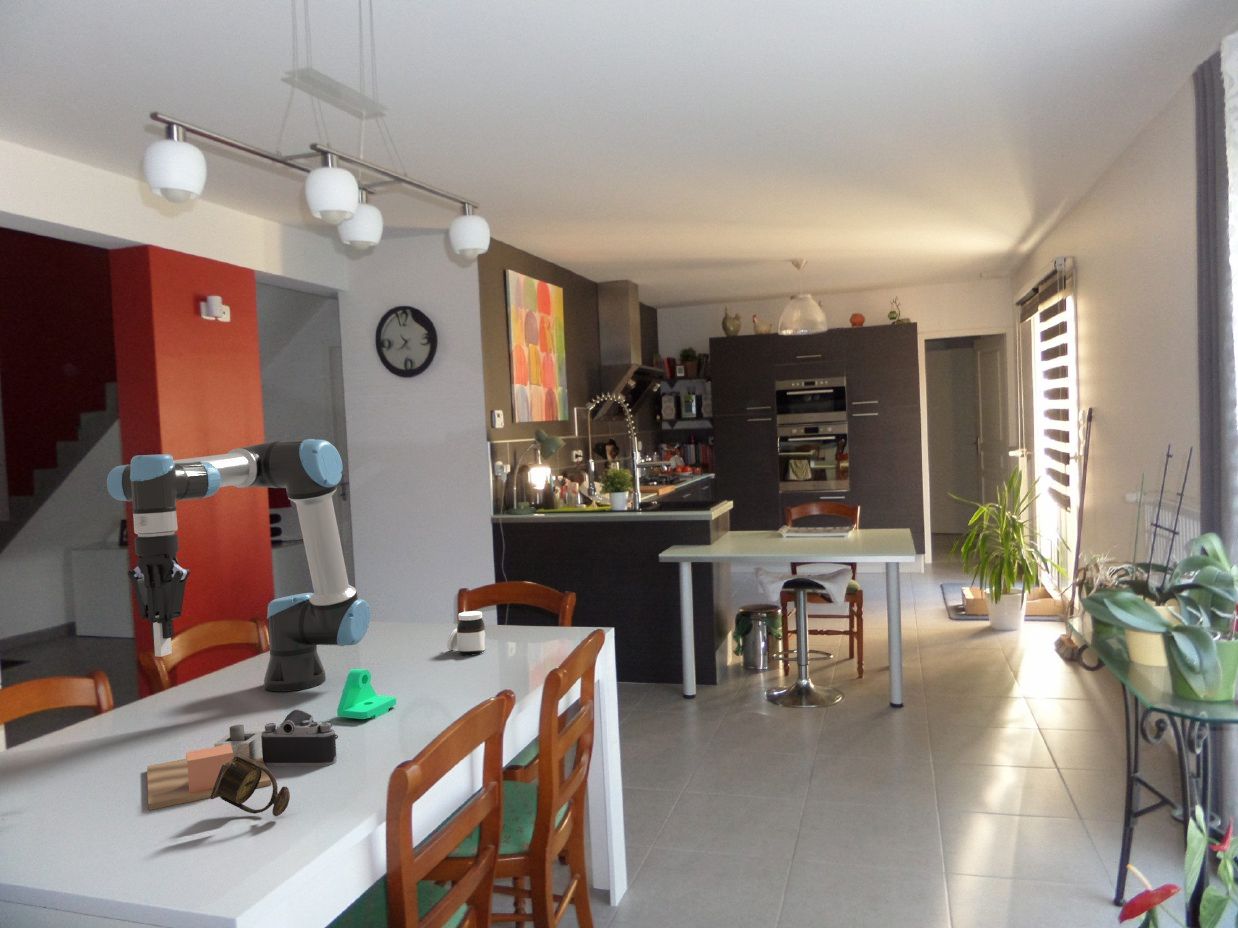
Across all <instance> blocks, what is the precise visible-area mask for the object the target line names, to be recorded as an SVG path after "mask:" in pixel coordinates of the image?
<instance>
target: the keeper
mask: <svg viewBox="0 0 1238 928" xmlns="http://www.w3.org/2000/svg"><path fill="white" fill-rule="evenodd" d="M185 759H187V765H188V781H189V793H193V792H198V791H203V790H208V789H213V788H214V785H215V782H216V779H217V777H218V774H219V772H220V769H221V767H222V765H223V764H225V763H227V762H229V761H231V760H232V759H234V758H233V750H232V747H231V744H228V745H222V746H217V747H214V746H213V747H206V748H201V749H196V750H191V751H186V752H185Z"/></svg>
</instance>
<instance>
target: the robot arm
mask: <svg viewBox="0 0 1238 928" xmlns="http://www.w3.org/2000/svg"><path fill="white" fill-rule="evenodd" d="M343 467H344V466H343V462H342V458H341V455H340V453H339V451H338V449H337V448H336V446H334V445H333V444H331V442H330V441H328V440H325V439H313V438H305V439H290V440H276V441H275V440H273V441H266V442H262V443H257V444H252V445H249V446H245V447H236V448H233V449H230V450H229V451H228V452H227V453H223V454H215V455H214V454H213V455H206V456H205V455H204V456H197V457H191V458H190V457H189V458H182V459H174V458H173V455H171V454H169V453H167V454H164V453H163V454H147V455H146V454H144V455H143V454H142V455H140V454H139V455H134V456H133V457H132V458H131V460H130V464H124V465H117V466H115V467H113V468H112V469H111V470H110V472H109V473H108V475H107V479H106V486H107V487H106V488H107V491H108V494H109V495H110V496H111V497H112V498H113V499H114V500H116V501H121V502H122V501H123V502H128V503H129V502H130V503H131V502H132V515H133V530H134V531H133V533H134V534H136V535H137V536H135V537H134V550H135V552H134V553H135V555H136V556H138V561H137V566H136V567H135V568H134V569H130V570H128V571H127V576H128V577H129V579H130V582H131V584H132V586H133V591H134V594H135V598H136V603H137V606H138V610H139V614H140V617H141V619H142V620H145V619H146V620H148V621H149V623H150V629H151V630H150V632H151V638H152V639H153V640H154V641H153V645H154V646H153V647H154V656H155V657H158V658H159V657H164V656H167V655H171V654H173V649H172V647H173V646H172V638H173V636H174V629H173V627H174V626H173V621H174V620H175V619H177V618H180V617H181V616H182V613H183V612H182V611H183V607H184V606H183V605H184V598H185V590H186V584H187V579H188V577H189V575H190V573H191V570H190V569H189V568H183V567H181V566H180V565H179V560H178V558H177V553H178V552H179V550H180V549H179V548H180V547H179V536H178V534H177V533H175V532H178V529H179V528H178V519H177V518H178V517H177V501H178V502H179V501H188V500H202V499H205V498H209V497H212V496H214V495H215V494H217V492H218V491H219V489H220V488H223V487H229V486H233V487H235V488H239V489H244V488H252V487H253V488H273V489H286V495H287V498H288V500H290V501H291V502H293V503H294V504H295V505H296V510H297V515H298V520H299V527H300V530H301V534H302V539H303V540H302V541H303V545H304V550H305V555H306V559H307V563H308V569H309V575H310V578H311V583H312V588H313V592H305V593H297V594H291V595H287V596H283V597H279V598H275V599H273V600H271V601H270V602H268V605H267V616H266V619H267V628H268V642H269V644H268V645H269V646H268V647H269V659H268V664H267V667H266V671H265V674H264V680H263V682H264V683H263V684H264V689H265V690H267V691H271V692H293V691H297V690H298V691H301V690H306V689H309V688H313V687H317V686H319V685H321V684H323V683H325V682H326V679H327V678H326V670H325V668H324V666H323V662H322V660H321V658H320V656H319V655H320V654H319V653H318V647H317V646H336V647H337V646H339V647H345V646H355V645H357V644H359V643H360V642H361V641H362V640H363V639H364V638H365V636H366V634H367V633H368V628H369V627H370V622H371V609H370V606H369V603H368V602H367V601H366V600H365V599H362V598H358V593H357V589H356V587H354V586H352V585H351V584H349V579H348V573H347V568H346V563H345V558H344V554H343V548H342V544H341V537H340V533H339V528H338V522H337V518H336V517H337V516H336V512H335V507H334V501H333V495H334V494H335V493H336V491H337V485H338V484H339V483H340V481H341V480H342V476H343V474H342V472H343Z"/></svg>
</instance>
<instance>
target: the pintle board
mask: <svg viewBox="0 0 1238 928" xmlns="http://www.w3.org/2000/svg"><path fill="white" fill-rule="evenodd" d="M244 726H245V725H244V724H235V725H231V726H230V727H229V734H230V741H245V740H244V732H245V727H244ZM254 761H255V762H257V763H259V764H261V765H263V766H265V767H267V765H265V764H264V761H263V757H262V755H261V756H260V757H258V758H257V759H256V760H254ZM261 771H262V770H261ZM146 775H147V797H148V799H147V800H148V811H151V810H158V809H161V808H167V807H171V806H176V805H181V804H186V803H190V802H194V801H200V800H205V799H210V797H211V794H212V791H213V789H208V790H203V791H198V792H193V793H189V781H188V765H187V758H182V759H179V760H173V761H167V762H161V763H156V764H153V765H152V764H150V765H147V766H146ZM269 786H272V782H271V780H270V778H269V776H268V775H267V774H266V773H265V772H264V771H262V772H261V778H260V781H259V784H258V786H257V788H256V789H258V788H264V787H269Z"/></svg>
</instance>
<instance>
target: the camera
mask: <svg viewBox="0 0 1238 928" xmlns="http://www.w3.org/2000/svg"><path fill="white" fill-rule="evenodd" d="M338 738H339V735H338V734H336V731H335V729H334V728H332V723H331V722H321V721H320V722H319V721H314V715H312V714H310V713H309V712H307V711H305V710H303V709H299V708H296V709H295V708H294V709H293V710H292V711H290V712H289V713H288V714H287V715H286V716H285V719H284V720H283V722H280V723H279V724H278V725H276V723H275V722H270V723H269V722H268V723H265V724H264V730H263V732H262V735H261V740H262V755H261V756H262V759H263V761H264V764H265V766H277V767H278V766H281V767H283V766H285V767H287V766H291V767H293V766H295V767H296V766H297V767H300V766H301V767H310V766H311V767H327V766H331V765H334V764H336V763H337V757H338V756H337V745H336V740H337V739H338Z"/></svg>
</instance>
